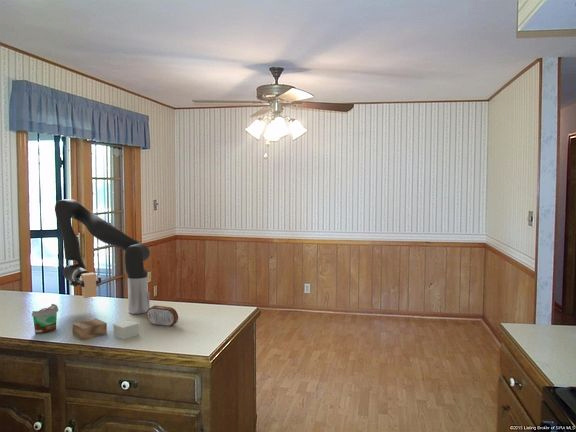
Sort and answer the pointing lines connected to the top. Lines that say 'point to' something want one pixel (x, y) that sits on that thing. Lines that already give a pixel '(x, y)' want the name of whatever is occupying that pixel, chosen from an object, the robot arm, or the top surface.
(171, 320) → the tin
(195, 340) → the top surface
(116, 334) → the grey block
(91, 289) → the ochre pillar
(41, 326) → the food container
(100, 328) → the walnut block
